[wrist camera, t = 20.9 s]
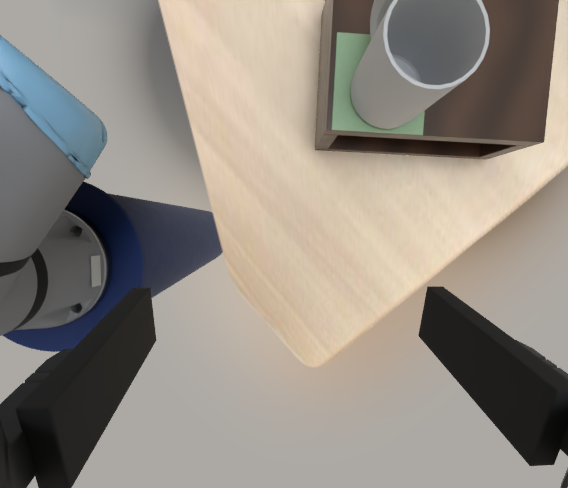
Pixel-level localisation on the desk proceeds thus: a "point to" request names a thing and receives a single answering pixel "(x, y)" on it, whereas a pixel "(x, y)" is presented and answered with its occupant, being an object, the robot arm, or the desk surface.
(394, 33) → the cup
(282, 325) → the desk surface
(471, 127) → the shelf
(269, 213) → the desk surface
